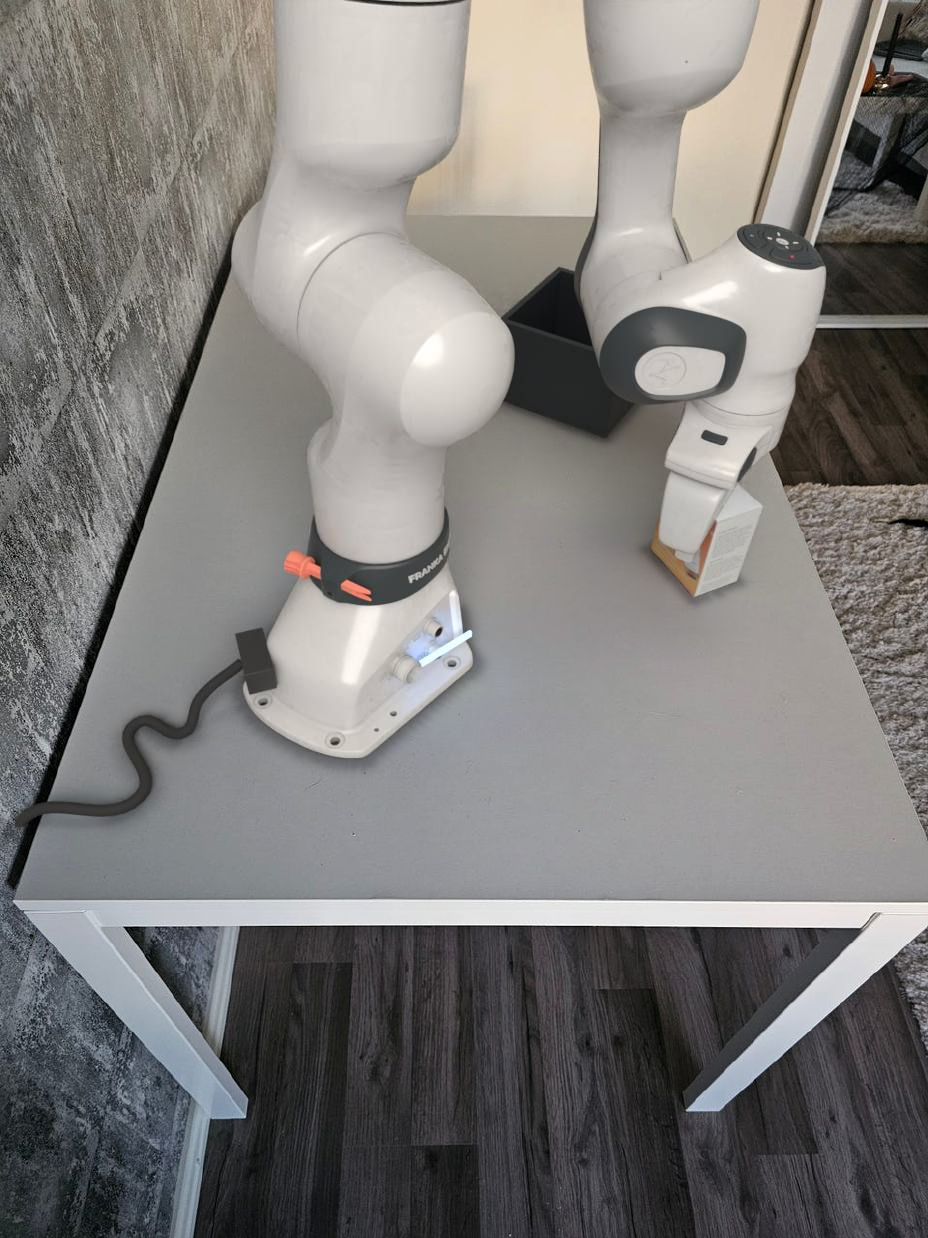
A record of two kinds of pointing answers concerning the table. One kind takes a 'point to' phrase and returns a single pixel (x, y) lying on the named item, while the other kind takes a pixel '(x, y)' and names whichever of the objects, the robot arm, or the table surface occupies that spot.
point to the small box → (716, 546)
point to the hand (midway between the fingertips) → (702, 527)
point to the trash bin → (559, 359)
